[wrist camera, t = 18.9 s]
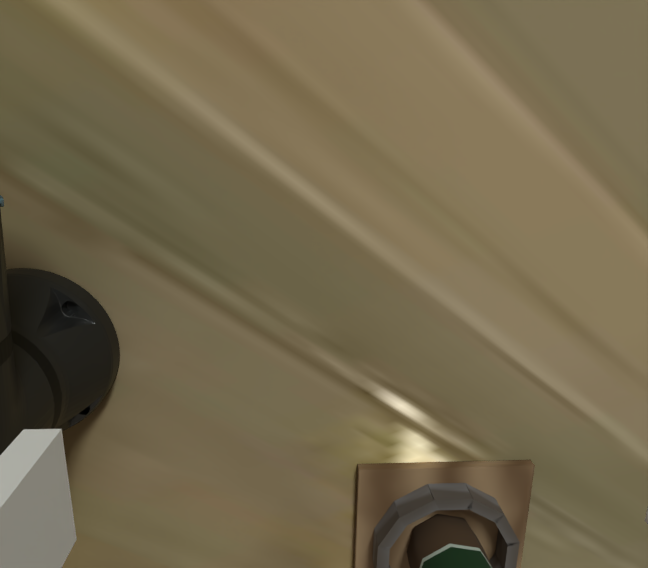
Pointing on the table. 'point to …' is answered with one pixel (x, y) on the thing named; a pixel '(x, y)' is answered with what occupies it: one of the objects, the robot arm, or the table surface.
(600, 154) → the table surface
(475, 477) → the collar stand
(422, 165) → the table surface
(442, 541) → the beer bottle
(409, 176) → the table surface
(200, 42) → the table surface
